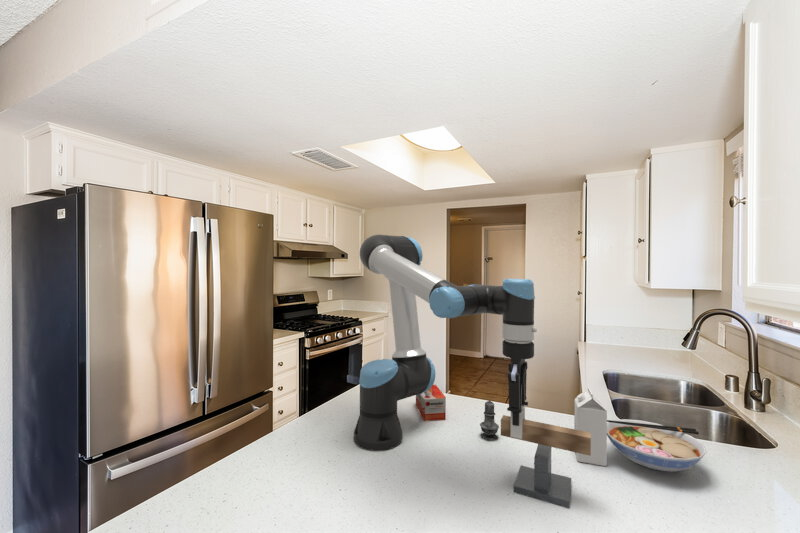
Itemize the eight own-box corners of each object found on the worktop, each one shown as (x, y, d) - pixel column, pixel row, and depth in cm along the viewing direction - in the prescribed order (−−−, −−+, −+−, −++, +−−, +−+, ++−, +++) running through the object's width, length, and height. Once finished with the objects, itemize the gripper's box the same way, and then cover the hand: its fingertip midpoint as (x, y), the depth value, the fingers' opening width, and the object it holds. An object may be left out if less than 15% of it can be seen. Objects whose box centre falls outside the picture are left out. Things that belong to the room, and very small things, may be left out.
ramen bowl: (608, 476, 92) (608, 445, 92) (593, 437, 113) (593, 411, 113) (731, 499, 83) (731, 464, 83) (689, 451, 104) (690, 423, 104)
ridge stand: (513, 491, 85) (513, 454, 85) (520, 470, 94) (520, 436, 94) (569, 508, 80) (569, 467, 80) (571, 484, 88) (571, 447, 88)
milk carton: (601, 454, 103) (601, 387, 103) (606, 467, 96) (607, 396, 96) (574, 449, 105) (574, 385, 105) (577, 462, 98) (577, 393, 98)
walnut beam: (500, 435, 90) (500, 419, 90) (503, 430, 93) (503, 415, 93) (590, 455, 81) (590, 438, 81) (590, 449, 83) (590, 432, 83)
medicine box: (415, 405, 139) (415, 384, 139) (435, 404, 140) (435, 383, 140) (423, 422, 124) (424, 399, 124) (446, 420, 125) (446, 397, 125)
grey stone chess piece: (499, 442, 109) (499, 402, 109) (479, 440, 111) (480, 401, 111) (498, 433, 115) (498, 396, 115) (479, 431, 116) (479, 394, 116)
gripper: (529, 348, 81) (528, 452, 81) (538, 336, 95) (537, 424, 95) (495, 344, 84) (495, 444, 84) (509, 333, 98) (508, 419, 98)
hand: (517, 433), depth 90 cm, fingers closed on walnut beam, 3 cm apart
